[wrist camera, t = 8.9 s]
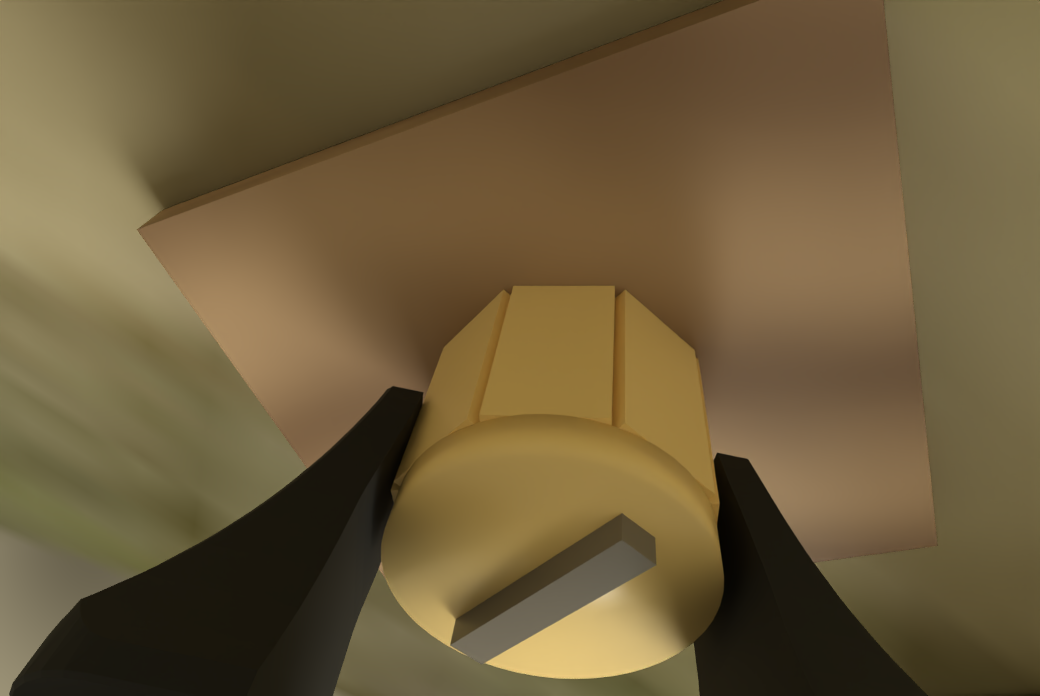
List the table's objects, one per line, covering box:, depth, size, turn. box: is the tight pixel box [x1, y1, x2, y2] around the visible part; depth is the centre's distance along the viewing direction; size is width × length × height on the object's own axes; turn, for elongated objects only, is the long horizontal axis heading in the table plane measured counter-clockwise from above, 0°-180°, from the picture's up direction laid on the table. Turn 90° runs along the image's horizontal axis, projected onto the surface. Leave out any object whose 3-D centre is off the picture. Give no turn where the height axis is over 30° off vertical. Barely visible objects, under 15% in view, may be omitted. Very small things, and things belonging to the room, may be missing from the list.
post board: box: [137, 0, 938, 577], centre depth 15 cm, size 13×14×4 cm
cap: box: [381, 286, 724, 679], centre depth 13 cm, size 6×6×5 cm
